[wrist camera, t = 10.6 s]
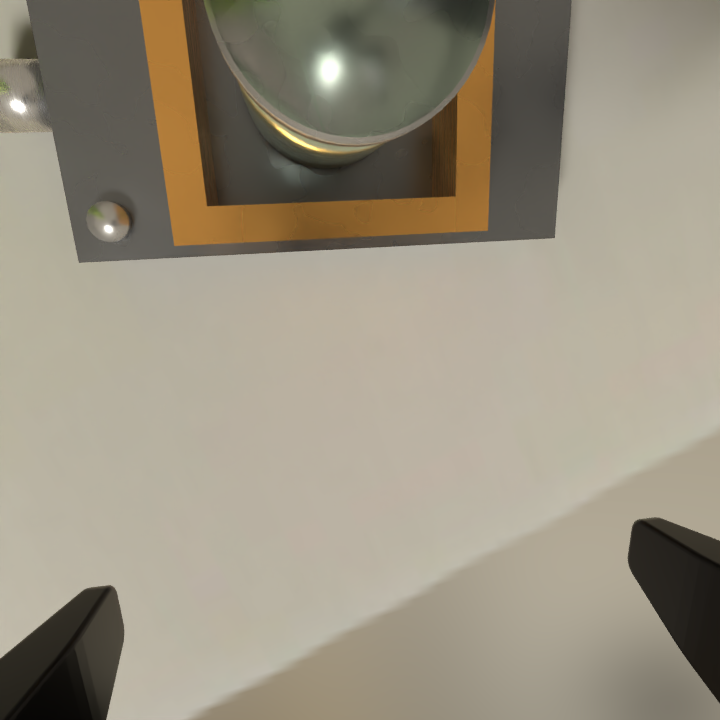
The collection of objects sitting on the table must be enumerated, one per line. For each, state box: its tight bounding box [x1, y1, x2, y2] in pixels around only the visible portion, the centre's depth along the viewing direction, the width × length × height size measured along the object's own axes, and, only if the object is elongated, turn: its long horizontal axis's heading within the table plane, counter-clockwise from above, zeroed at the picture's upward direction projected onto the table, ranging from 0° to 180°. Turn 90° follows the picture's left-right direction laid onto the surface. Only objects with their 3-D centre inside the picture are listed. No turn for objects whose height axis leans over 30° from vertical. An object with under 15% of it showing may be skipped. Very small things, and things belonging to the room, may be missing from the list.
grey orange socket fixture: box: [0, 0, 571, 263], centre depth 15 cm, size 18×10×5 cm, turn 92°
